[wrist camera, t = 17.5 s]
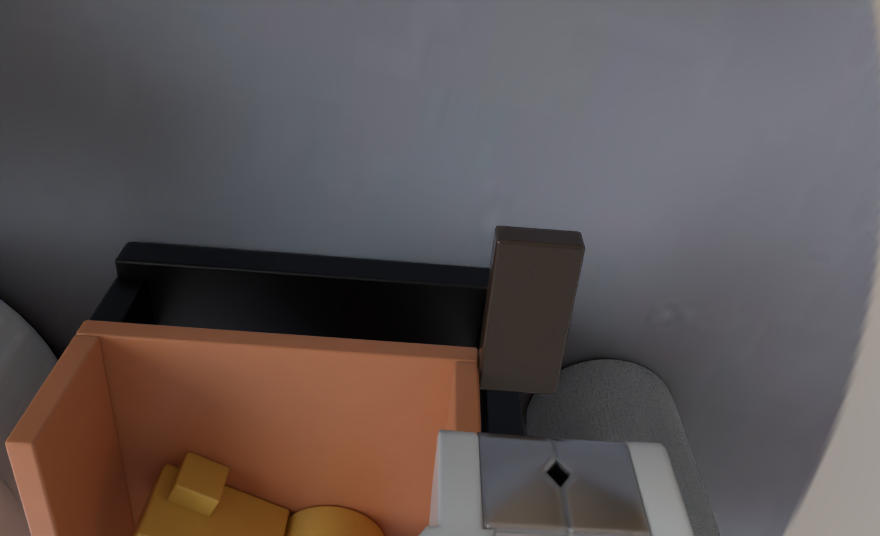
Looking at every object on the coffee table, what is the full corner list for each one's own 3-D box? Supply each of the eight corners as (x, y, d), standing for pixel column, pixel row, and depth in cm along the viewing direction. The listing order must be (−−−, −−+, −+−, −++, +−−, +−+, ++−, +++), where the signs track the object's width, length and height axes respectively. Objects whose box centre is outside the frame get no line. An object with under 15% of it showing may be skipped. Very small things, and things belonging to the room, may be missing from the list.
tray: (580, 224, 15) (610, 340, 12) (499, 642, 22) (506, 779, 19) (58, 185, 15) (-40, 294, 12) (142, 619, 22) (93, 756, 19)
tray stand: (511, 268, 22) (529, 435, 17) (478, 498, 27) (484, 684, 22) (126, 240, 22) (18, 400, 16) (161, 477, 27) (87, 661, 21)
